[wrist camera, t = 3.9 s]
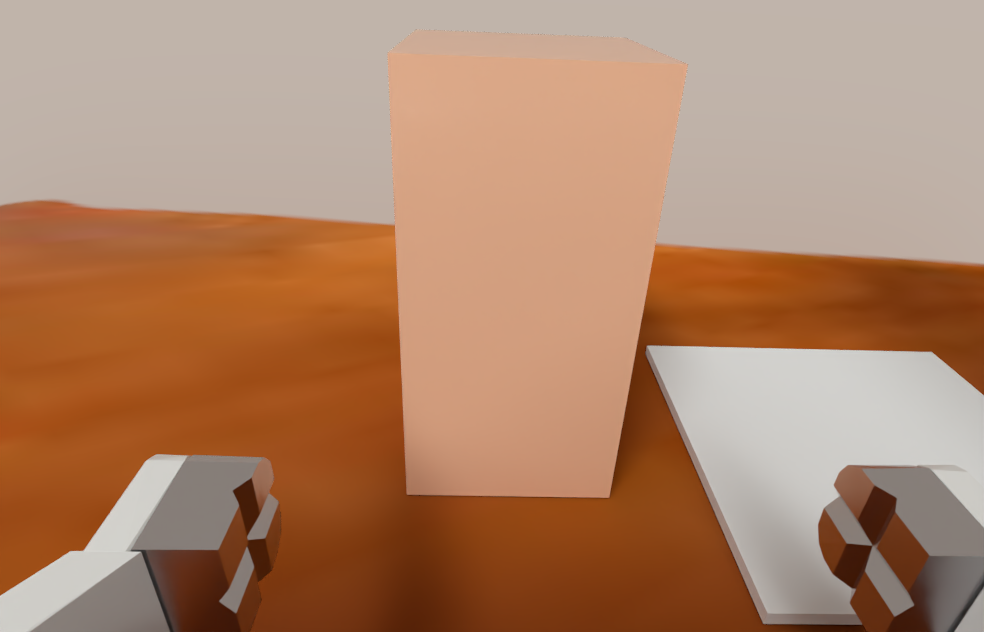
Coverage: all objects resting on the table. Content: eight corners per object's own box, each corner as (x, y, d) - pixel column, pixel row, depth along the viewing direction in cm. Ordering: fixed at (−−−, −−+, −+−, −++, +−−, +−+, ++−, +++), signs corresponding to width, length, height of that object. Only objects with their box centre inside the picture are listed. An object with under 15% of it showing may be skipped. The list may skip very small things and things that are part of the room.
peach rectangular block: (580, 380, 23) (625, 37, 17) (608, 497, 18) (687, 64, 12) (423, 376, 23) (416, 29, 17) (407, 494, 18) (387, 53, 12)
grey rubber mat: (928, 360, 25) (931, 352, 25) (1239, 627, 15) (1250, 617, 15) (645, 353, 25) (646, 345, 25) (763, 624, 15) (767, 613, 14)
